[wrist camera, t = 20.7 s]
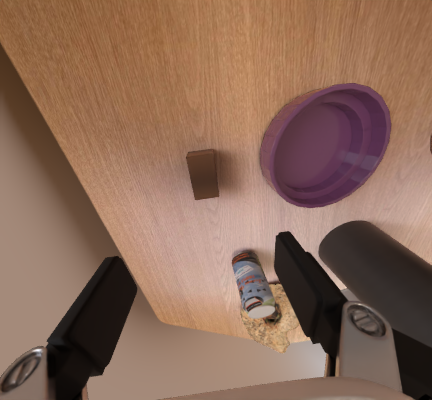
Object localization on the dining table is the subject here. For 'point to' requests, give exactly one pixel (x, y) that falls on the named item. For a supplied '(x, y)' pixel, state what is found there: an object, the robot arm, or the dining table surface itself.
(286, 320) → the beige rock
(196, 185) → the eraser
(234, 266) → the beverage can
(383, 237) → the vase
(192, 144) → the dining table surface
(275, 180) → the bowl
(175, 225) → the dining table surface
